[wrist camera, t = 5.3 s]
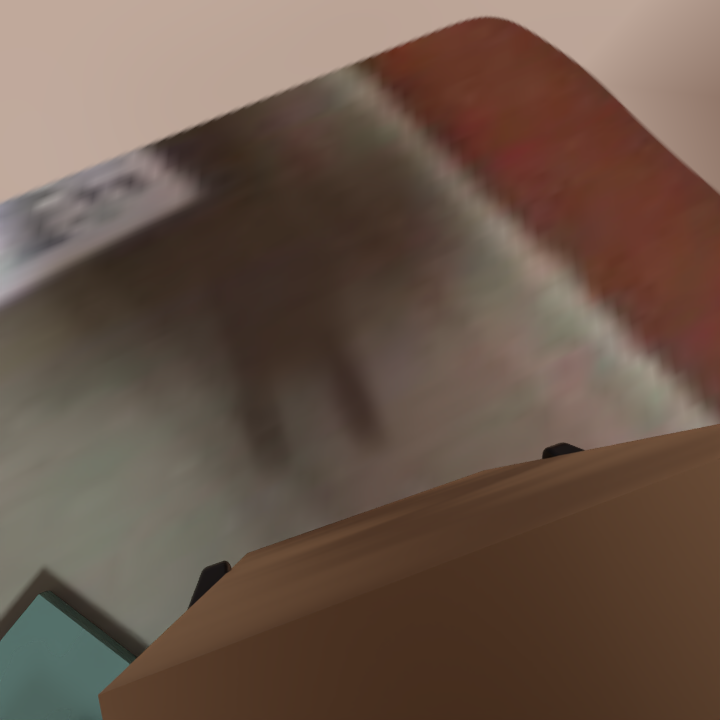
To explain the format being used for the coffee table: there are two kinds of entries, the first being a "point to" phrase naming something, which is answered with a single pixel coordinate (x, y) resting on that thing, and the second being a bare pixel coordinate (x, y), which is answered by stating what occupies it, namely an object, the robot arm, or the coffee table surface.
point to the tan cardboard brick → (469, 604)
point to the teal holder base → (56, 664)
